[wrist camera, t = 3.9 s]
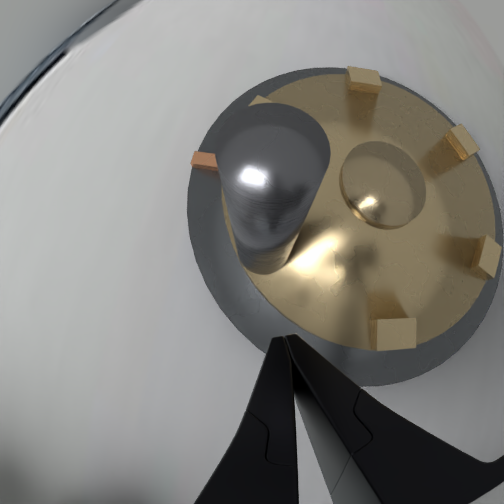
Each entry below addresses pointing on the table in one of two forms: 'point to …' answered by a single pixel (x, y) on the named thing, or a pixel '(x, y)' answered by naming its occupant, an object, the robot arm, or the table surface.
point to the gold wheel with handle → (357, 210)
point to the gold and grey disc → (265, 315)
